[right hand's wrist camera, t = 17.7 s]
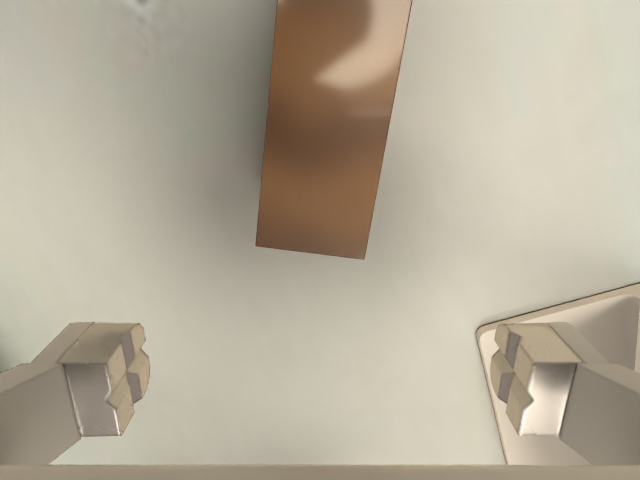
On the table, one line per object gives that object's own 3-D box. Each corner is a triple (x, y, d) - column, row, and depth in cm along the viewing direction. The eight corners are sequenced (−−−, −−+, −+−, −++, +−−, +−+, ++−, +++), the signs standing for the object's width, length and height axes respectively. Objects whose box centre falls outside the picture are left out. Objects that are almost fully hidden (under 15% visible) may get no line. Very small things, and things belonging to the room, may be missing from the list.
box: (353, 213, 34) (364, 260, 26) (271, 202, 34) (255, 246, 25) (431, -247, 25) (487, -405, 16) (317, -267, 24) (316, -439, 16)
